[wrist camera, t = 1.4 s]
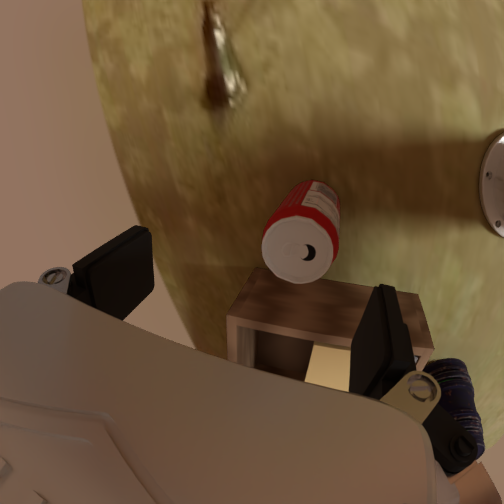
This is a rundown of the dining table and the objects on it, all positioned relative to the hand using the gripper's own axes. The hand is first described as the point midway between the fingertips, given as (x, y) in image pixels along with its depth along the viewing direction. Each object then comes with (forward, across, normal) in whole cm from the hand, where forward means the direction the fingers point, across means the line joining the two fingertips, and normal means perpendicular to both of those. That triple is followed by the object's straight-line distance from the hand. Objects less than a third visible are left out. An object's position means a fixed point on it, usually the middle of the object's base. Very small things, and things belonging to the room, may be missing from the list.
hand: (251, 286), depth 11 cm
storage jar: (+20, -27, +23) cm, 41 cm away
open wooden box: (+20, -7, +19) cm, 28 cm away
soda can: (+20, -1, +2) cm, 20 cm away
